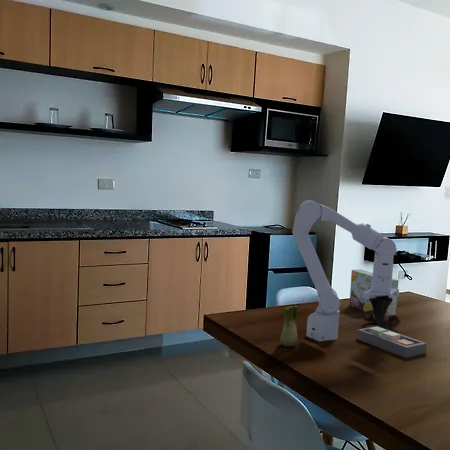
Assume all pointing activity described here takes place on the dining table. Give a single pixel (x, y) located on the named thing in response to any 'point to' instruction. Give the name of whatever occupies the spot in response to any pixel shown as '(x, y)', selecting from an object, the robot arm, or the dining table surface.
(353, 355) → the dining table surface
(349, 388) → the dining table surface
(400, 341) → the key
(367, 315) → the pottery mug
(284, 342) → the fennel bulb
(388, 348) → the grey rectangular tray
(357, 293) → the snack box
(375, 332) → the key
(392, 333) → the key mid
